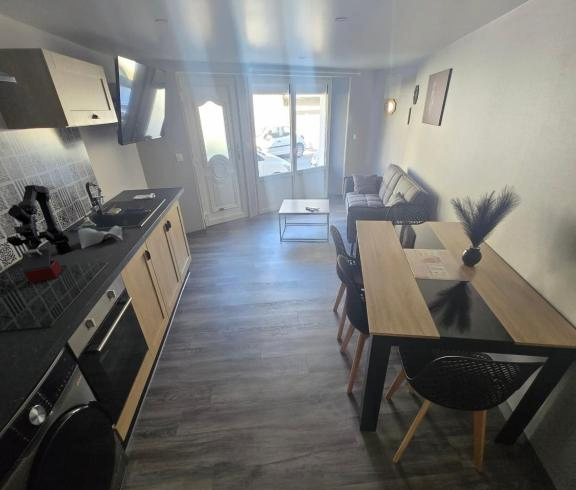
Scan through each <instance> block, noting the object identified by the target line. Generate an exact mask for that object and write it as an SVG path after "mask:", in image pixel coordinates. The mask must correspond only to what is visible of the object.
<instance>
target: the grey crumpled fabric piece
mask: <svg viewBox="0 0 576 490" xmlns="http://www.w3.org/2000/svg"><path fill="white" fill-rule="evenodd" d="M122 231H123V232H124V233H126V231H125V229H124V228H123V227H122V226H119V225H114V226H112V227H111V228H110V229H109V230H108V232H107V231H98V230H97V229H93V228H90V227H84V228H81V229H78V230H77V232H78V238H79V243H80V247H81V249H82V250H83V249H85V248H88V247H90V246H93V245H97V244H100V243H101V242H102V241H103V240H105V241H107V240H108V237H109V236H110V237H112V238H113V239H114V240H115V241H119V239H120V240H122V241H124V238H123V233H122Z"/></svg>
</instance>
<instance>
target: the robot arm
mask: <svg viewBox="0 0 576 490" xmlns="http://www.w3.org/2000/svg"><path fill="white" fill-rule="evenodd" d="M50 199H51V195H50V190H49V188H48V187H46V186H45V185H36V184H29V185H25V186H24V194H23V198H22V201H19V202H18V204H11V207H10V208H9V209H8V211H7V213H8V215H9V216H10V217H11V218H13V219H15V220H16V221H17V222H19V223H21V225H18V226H14V227H13V228H14V230H15V233H16V235H13V236H7V237H6V243H8V244H9V245H12V246H14V247H20V246H22V245H25V246H26V248H28V250H34V249H38V248H39V247H40V245H41V244H43V241H42V240H43V239H45V240H46V241H47V242H48V243H50V244H51V246H53V245H54V248H55V250H56V252H57V253H58V254H61V255H64V254H67V253H69V252H72V251H74V249H73V248H71V246H70V243H69V242H70V238H69V236H68V235H66V234H65V233H64V231H63V230H62V229H61V228H60V227H59V226H58V225H57V222H56V218H55V217H54V214H53V210H52V208H51V205H50ZM36 202H38V206H39V208H40V210H41V213H42V216H43V218H44V222H45V224H46V230H43V231H40V232H39V228H37V222H38V219H36V218H35V215H37V214H38V207H37V206H36ZM17 234H18V235H19V236H21V237H19V236H17ZM32 254H35V253H32Z"/></svg>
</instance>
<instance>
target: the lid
mask: <svg viewBox="0 0 576 490" xmlns="http://www.w3.org/2000/svg"><path fill="white" fill-rule="evenodd" d="M32 253H35V254H32ZM21 256H22V258H21V259H22V263H21V265H22V266H21V271H22V272H23V273H24V272H25V271H31V270H36V269H42V268H47V267H50V261H51V249H50V248H44V249H38V248H37V249H34V250H29V249H28V250H24V251H22V255H21Z"/></svg>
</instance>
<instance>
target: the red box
mask: <svg viewBox="0 0 576 490" xmlns="http://www.w3.org/2000/svg"><path fill="white" fill-rule="evenodd" d="M62 271H63V268H62V266H61V264H60V263H59V261H58V259H50V267H47V268H42V269H36V270H31V271H25V272H23V274H24V275H25V277H26V279H27V280H28V282H29V284H30V283H31V284H32V283H37V282H41V281H42V282H43V281H47V280H52V279H57V278H58V277H59V275H60V274H61V272H62Z"/></svg>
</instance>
